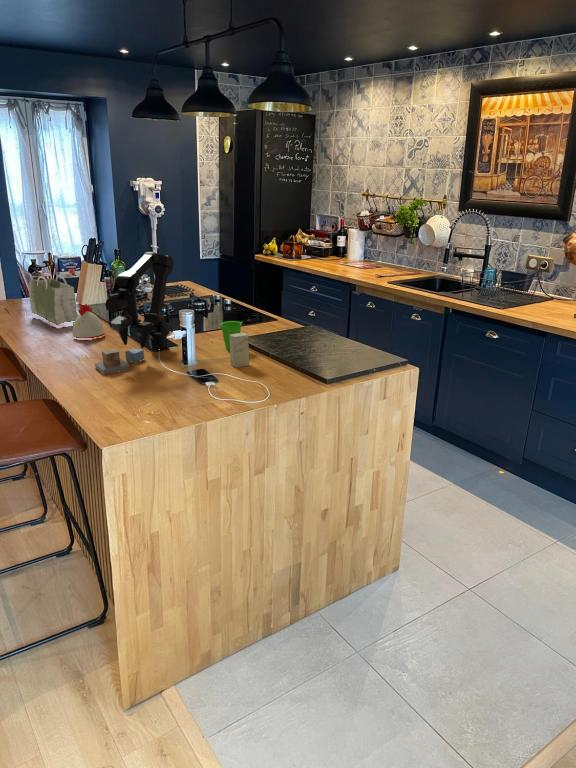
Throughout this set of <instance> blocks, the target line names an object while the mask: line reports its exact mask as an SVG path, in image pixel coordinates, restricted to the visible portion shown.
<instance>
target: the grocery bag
mask: <svg viewBox="0 0 576 768" xmlns="http://www.w3.org/2000/svg"><path fill="white" fill-rule="evenodd" d="M58 278H61V279H62V280H63V282H64V283H63V282H60V281H59V280H58ZM40 279H41V280H40ZM28 284H29V288H28V294H29V295H28V296H29V304H30V310H31V314H32V313H34V314H37V315H39V316H41V317H43V318H45V319H46V320H48V321H49V322H52V323H54V324H56V325H59V324H61V323H64V322H71V321H75V320H76V318H77V317H78V316H79V315H78V312H77V311H78V310H77V303H76V302H77V300H76V299H77V298H76V294H75V293H76V292H75V287H74V286H72V285H71V284H70V285H69V284H68V283H67V281H66V279H65V278H64V277H63V275H59V274H57V275H56V277H55V279H54V278H51V277H50V278H49V277H48V278H46V277H45V276H42V275H40V276H38V278H37V279H32V278H31V279H30V278H29V283H28Z"/></svg>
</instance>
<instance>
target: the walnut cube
mask: <svg viewBox="0 0 576 768" xmlns="http://www.w3.org/2000/svg"><path fill="white" fill-rule="evenodd" d="M101 356H102V362H103V364H104V365H106V366H107V367H110V366H115V365H120V358H121V357H120V352H119V350H117V349H116V348H111V349H105V350H101Z"/></svg>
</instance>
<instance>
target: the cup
mask: <svg viewBox="0 0 576 768" xmlns="http://www.w3.org/2000/svg"><path fill="white" fill-rule="evenodd" d="M219 325H220V326H221V327H220V328H221V332H222V336H223V341H224V345H225V349H226V351H228V352H230V337H229V335H230V334H237V333H241V331H242V325H243V323H242V321H239V320H238V321H237V320H229V321H224V322H223V321H222V322H221V323H220V324H219Z"/></svg>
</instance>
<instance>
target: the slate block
mask: <svg viewBox="0 0 576 768" xmlns="http://www.w3.org/2000/svg"><path fill="white" fill-rule="evenodd" d="M124 353H125V360H127V361H126V362H128V361H132V362H131V363H133V362H137V363H139V362H141V361H140V360H142V361H144V360H143V359H145V351H144V349H138V348H133V349H129V350H126V351H125V352H124ZM138 361H139V362H138Z"/></svg>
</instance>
